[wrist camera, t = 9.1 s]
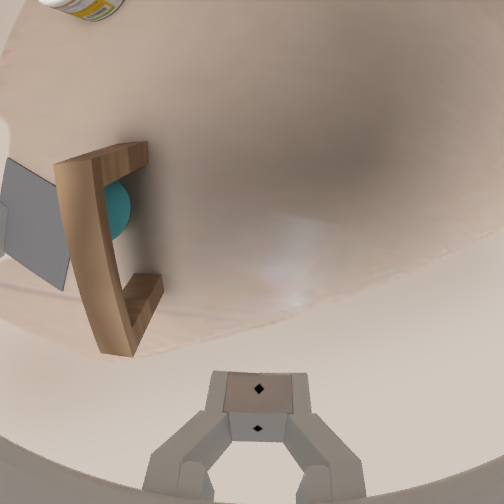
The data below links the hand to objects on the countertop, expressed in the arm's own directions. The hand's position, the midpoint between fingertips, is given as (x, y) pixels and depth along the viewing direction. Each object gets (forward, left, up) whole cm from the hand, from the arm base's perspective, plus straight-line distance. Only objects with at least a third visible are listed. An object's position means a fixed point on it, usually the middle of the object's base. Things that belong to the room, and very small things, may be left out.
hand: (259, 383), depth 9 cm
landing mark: (+14, -21, -19) cm, 32 cm away
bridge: (+7, -9, -19) cm, 22 cm away
